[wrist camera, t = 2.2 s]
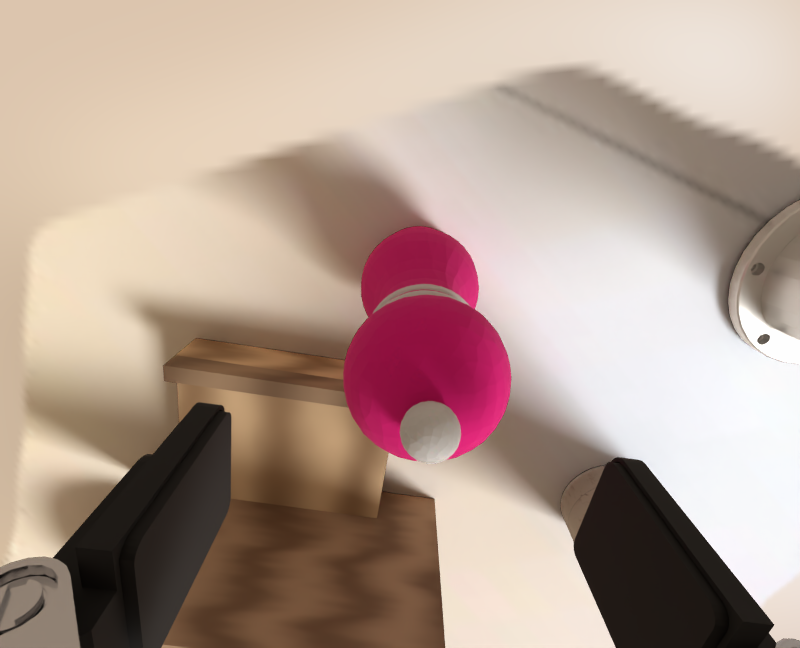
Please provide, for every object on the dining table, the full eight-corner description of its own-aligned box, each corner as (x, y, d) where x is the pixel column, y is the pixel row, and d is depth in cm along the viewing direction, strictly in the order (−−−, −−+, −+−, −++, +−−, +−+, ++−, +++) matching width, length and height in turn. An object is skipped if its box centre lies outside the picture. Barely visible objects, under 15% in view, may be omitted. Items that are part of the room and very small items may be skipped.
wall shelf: (463, 377, 33) (498, 520, 20) (430, 515, 38) (441, 699, 25) (130, 328, 32) (-61, 443, 19) (143, 476, 37) (1, 646, 24)
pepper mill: (362, 223, 29) (275, 338, 10) (467, 214, 28) (576, 318, 10) (373, 320, 31) (320, 554, 13) (469, 313, 31) (559, 544, 12)
